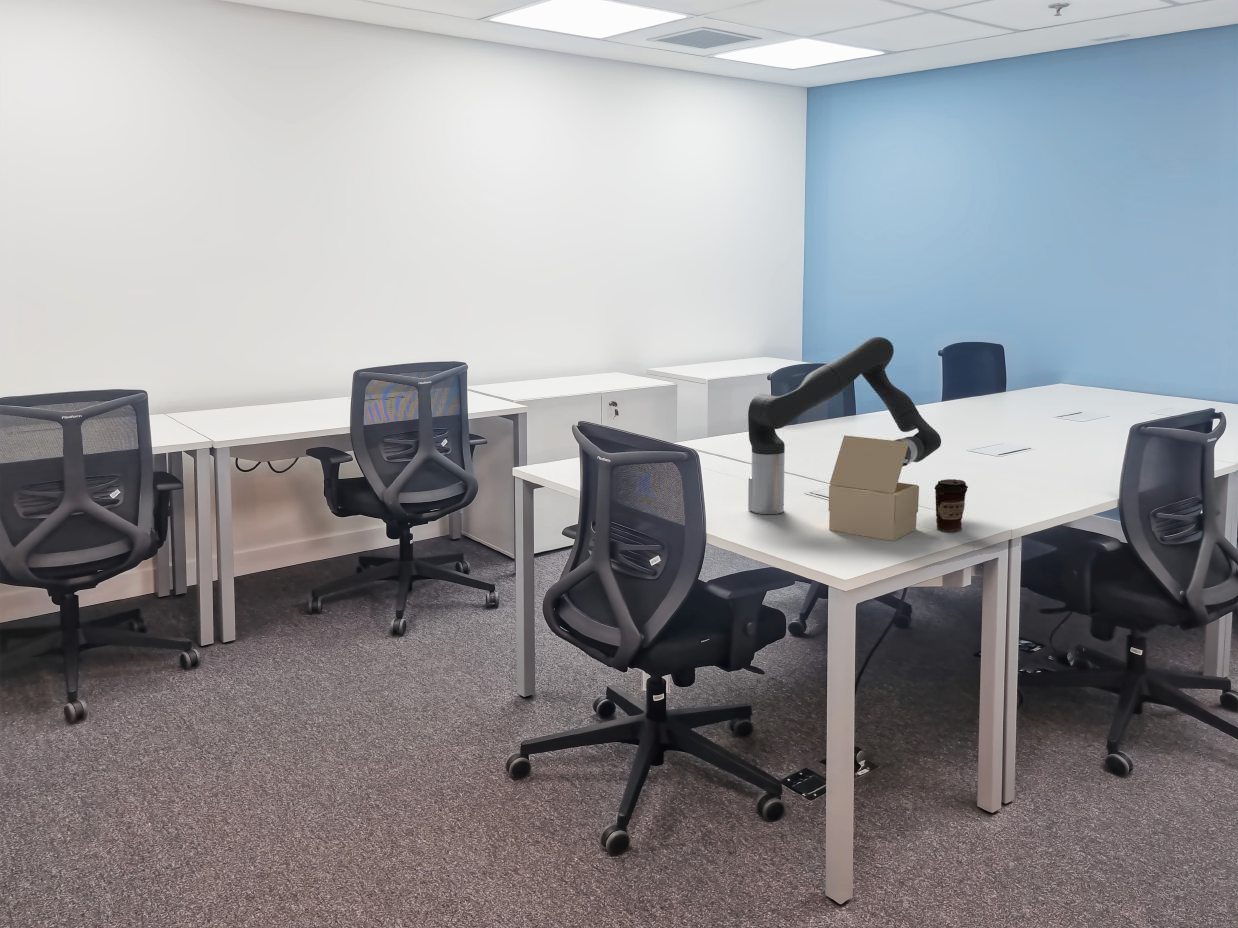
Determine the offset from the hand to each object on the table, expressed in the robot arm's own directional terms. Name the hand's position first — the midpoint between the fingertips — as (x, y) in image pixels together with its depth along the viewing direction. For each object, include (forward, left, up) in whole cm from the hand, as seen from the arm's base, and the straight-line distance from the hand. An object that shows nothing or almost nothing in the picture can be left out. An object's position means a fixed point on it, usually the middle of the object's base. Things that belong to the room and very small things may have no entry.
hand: (870, 463), depth 260 cm
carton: (0, +3, -18) cm, 19 cm away
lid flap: (0, 0, 0) cm, 1 cm away
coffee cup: (+16, +15, -19) cm, 28 cm away
